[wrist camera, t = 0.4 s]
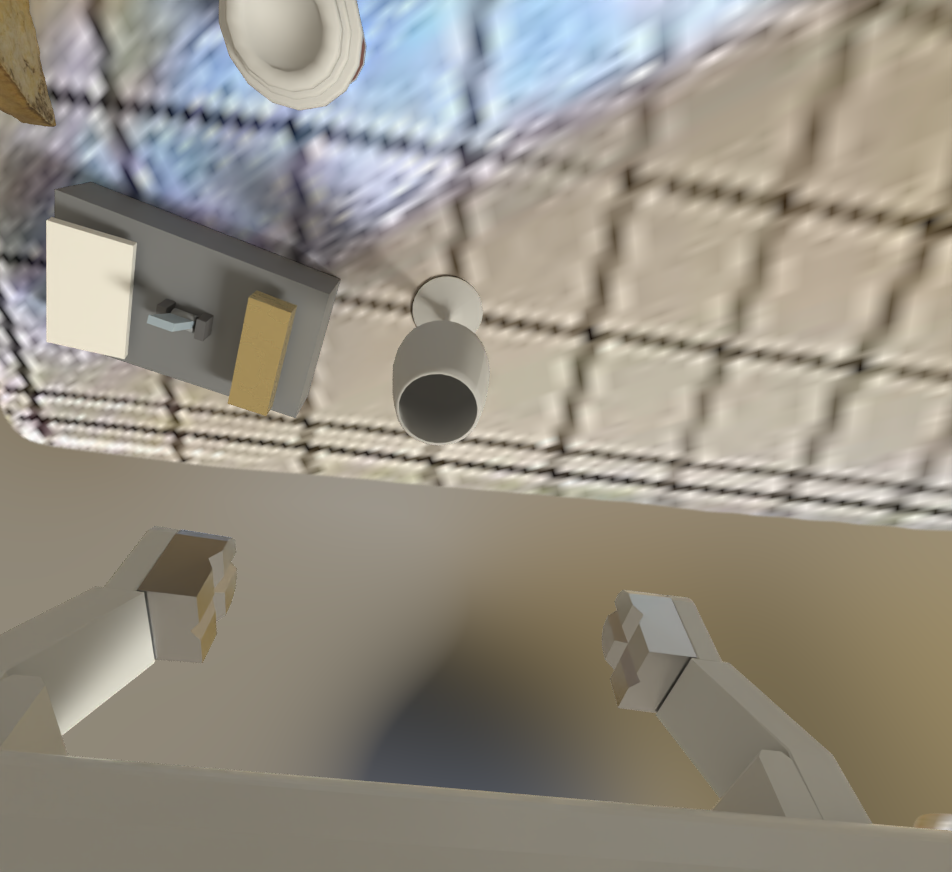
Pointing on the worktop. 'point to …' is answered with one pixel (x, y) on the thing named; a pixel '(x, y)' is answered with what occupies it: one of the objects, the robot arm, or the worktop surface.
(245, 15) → the coffee cup
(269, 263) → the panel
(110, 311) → the white slab
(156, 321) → the paddle
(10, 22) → the rock
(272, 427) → the worktop surface
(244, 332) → the gold rectangular block
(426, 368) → the wineglass
